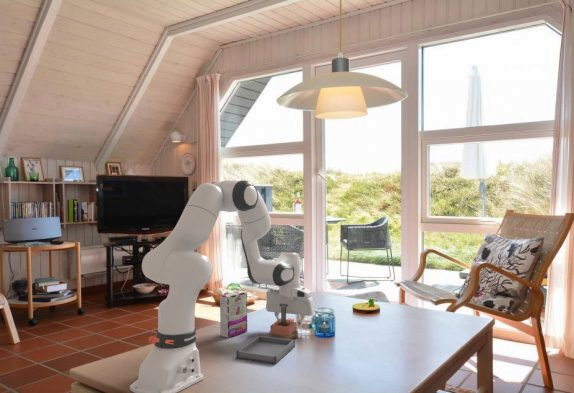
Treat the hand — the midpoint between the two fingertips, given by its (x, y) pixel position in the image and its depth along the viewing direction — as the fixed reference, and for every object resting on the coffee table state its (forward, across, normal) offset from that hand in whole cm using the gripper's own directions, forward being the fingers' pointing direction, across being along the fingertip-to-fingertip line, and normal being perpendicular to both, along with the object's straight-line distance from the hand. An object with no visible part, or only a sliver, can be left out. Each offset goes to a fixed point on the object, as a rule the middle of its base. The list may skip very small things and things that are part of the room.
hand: (289, 324), depth 187 cm
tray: (+3, +1, -26) cm, 26 cm away
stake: (+3, 0, -7) cm, 8 cm away
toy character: (+4, +25, +45) cm, 51 cm away
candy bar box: (+3, -20, -11) cm, 23 cm away
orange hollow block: (+1, 0, -5) cm, 5 cm away
